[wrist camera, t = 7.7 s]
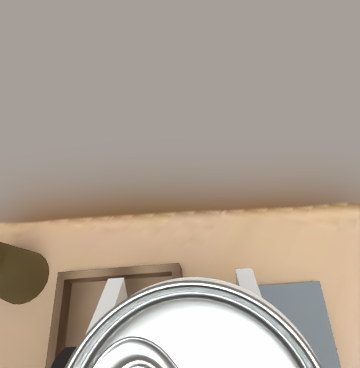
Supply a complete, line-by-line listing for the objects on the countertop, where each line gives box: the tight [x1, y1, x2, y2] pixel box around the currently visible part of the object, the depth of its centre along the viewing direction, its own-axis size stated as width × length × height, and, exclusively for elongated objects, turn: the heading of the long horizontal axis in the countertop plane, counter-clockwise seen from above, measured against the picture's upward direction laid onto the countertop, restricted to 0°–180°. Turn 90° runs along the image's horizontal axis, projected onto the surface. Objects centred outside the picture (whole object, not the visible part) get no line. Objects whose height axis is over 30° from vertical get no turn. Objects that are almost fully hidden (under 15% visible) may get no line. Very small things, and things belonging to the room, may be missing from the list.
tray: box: [45, 263, 182, 368], centre depth 32 cm, size 13×13×3 cm
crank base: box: [258, 281, 341, 368], centre depth 29 cm, size 13×14×4 cm
